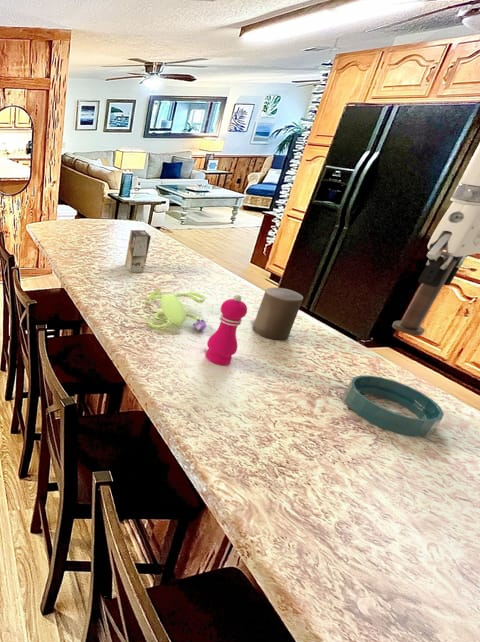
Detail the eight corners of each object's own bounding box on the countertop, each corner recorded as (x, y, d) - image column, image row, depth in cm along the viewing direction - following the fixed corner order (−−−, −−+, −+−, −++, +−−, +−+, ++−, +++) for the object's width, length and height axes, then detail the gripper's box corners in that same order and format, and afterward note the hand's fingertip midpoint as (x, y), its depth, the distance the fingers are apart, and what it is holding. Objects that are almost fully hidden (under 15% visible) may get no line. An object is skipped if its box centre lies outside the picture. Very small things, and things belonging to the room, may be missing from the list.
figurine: (201, 303, 140) (204, 289, 137) (209, 340, 117) (214, 324, 115) (147, 295, 146) (150, 281, 143) (145, 328, 123) (148, 313, 120)
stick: (400, 322, 89) (438, 253, 82) (428, 333, 85) (470, 261, 78) (386, 326, 88) (423, 255, 81) (413, 337, 84) (455, 264, 76)
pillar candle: (286, 344, 116) (304, 299, 110) (249, 333, 122) (265, 290, 115) (288, 331, 123) (306, 288, 117) (253, 321, 129) (268, 280, 122)
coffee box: (144, 272, 166) (151, 236, 159) (129, 271, 166) (136, 236, 159) (138, 264, 174) (145, 230, 167) (124, 264, 174) (130, 229, 167)
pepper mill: (210, 348, 113) (229, 287, 105) (236, 360, 108) (258, 296, 100) (198, 357, 109) (217, 294, 100) (225, 369, 104) (247, 304, 95)
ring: (366, 389, 98) (376, 370, 95) (444, 432, 85) (459, 411, 82) (325, 402, 93) (335, 382, 90) (402, 450, 80) (416, 428, 78)
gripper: (484, 202, 68) (431, 295, 76) (534, 197, 73) (480, 286, 81) (430, 193, 74) (387, 281, 82) (480, 190, 79) (434, 272, 87)
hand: (433, 282), depth 81 cm, fingers closed on stick, 3 cm apart
